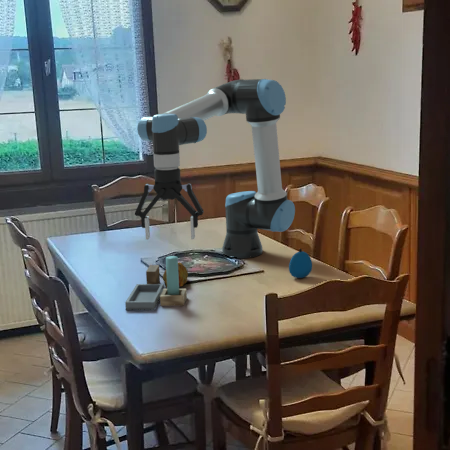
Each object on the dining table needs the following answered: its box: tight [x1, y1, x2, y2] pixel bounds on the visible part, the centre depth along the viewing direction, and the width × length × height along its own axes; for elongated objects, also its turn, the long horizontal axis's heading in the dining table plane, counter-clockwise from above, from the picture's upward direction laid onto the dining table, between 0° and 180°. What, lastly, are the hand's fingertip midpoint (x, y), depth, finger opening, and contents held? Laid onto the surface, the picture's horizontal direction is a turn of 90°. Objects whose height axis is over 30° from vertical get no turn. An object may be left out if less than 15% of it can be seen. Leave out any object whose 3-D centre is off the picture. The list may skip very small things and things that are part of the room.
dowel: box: [165, 255, 180, 295], centre depth 210 cm, size 4×4×14 cm
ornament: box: [288, 248, 313, 279], centre depth 230 cm, size 8×5×10 cm, turn 111°
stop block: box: [145, 264, 161, 284], centre depth 227 cm, size 3×7×6 cm, turn 175°
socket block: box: [159, 288, 188, 307], centre depth 212 cm, size 7×7×3 cm
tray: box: [124, 283, 165, 311], centre depth 213 cm, size 9×17×2 cm, turn 175°
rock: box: [162, 261, 189, 288], centre depth 228 cm, size 11×8×10 cm
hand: (170, 238), depth 207 cm, fingers open, 13 cm apart
